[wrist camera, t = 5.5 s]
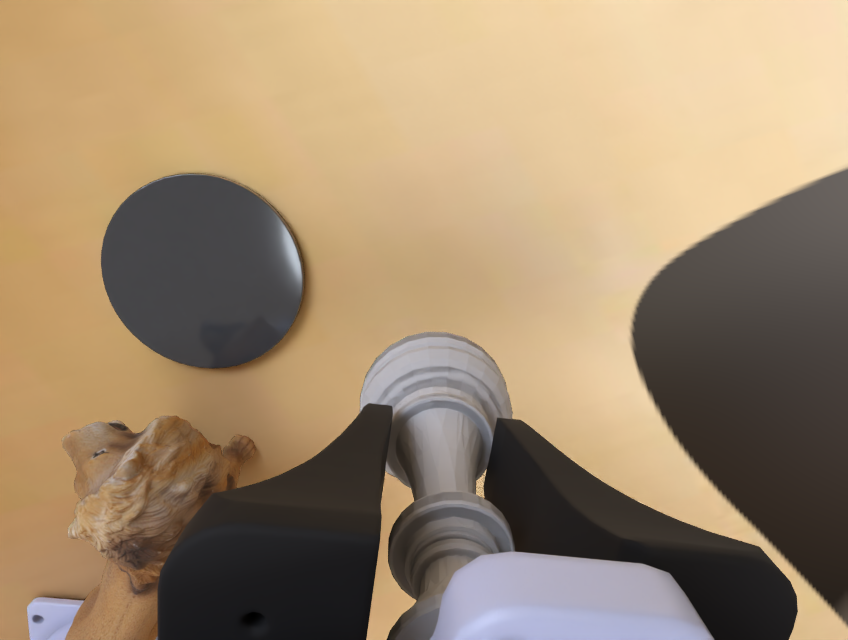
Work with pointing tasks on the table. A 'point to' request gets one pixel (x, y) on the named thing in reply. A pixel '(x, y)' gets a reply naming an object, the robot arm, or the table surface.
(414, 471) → the chess piece
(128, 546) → the lion figurine
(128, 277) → the coaster
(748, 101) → the table surface
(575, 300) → the table surface
